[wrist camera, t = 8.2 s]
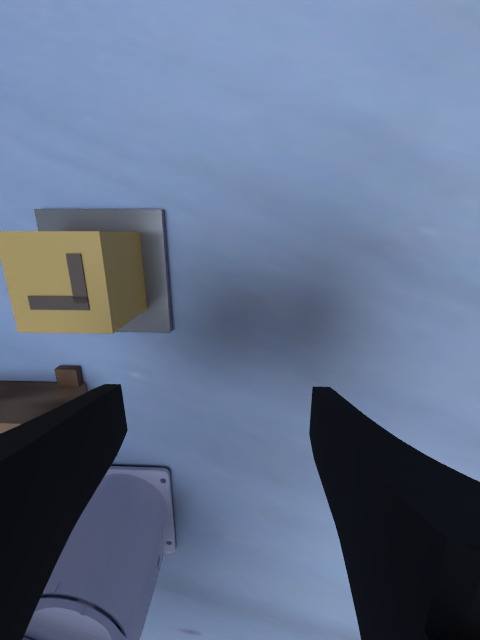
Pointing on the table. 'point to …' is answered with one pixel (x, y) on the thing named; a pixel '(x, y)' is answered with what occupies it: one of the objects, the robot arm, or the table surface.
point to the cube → (73, 280)
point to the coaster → (151, 246)
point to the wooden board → (38, 396)
